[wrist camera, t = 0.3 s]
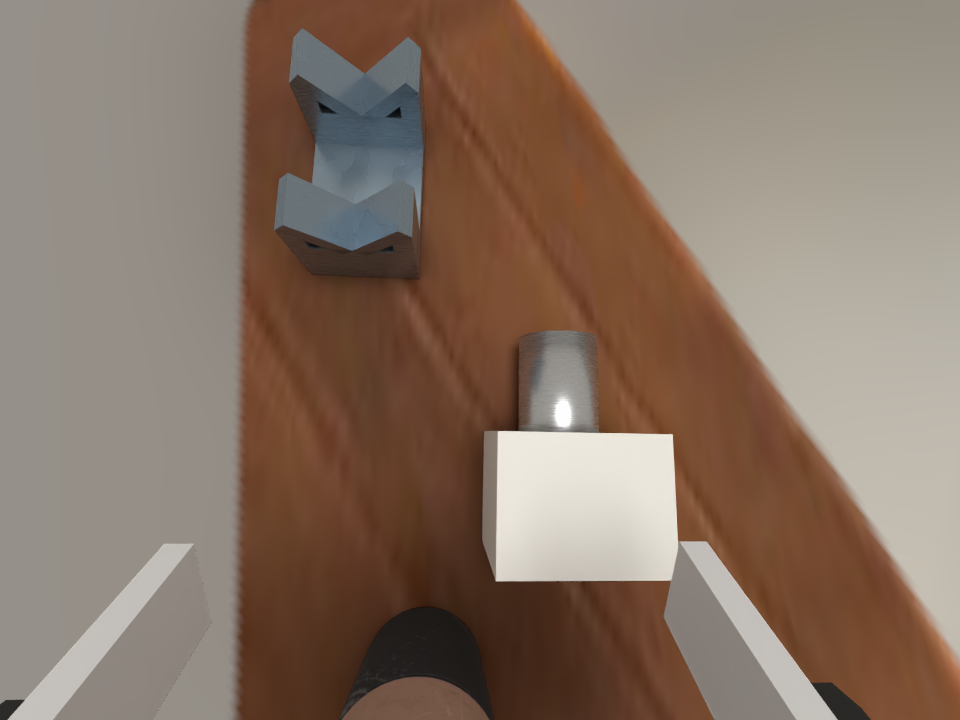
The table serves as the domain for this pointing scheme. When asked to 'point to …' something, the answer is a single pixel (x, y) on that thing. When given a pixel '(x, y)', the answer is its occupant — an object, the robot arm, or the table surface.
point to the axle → (558, 382)
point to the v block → (357, 164)
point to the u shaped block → (579, 506)
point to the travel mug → (421, 672)
